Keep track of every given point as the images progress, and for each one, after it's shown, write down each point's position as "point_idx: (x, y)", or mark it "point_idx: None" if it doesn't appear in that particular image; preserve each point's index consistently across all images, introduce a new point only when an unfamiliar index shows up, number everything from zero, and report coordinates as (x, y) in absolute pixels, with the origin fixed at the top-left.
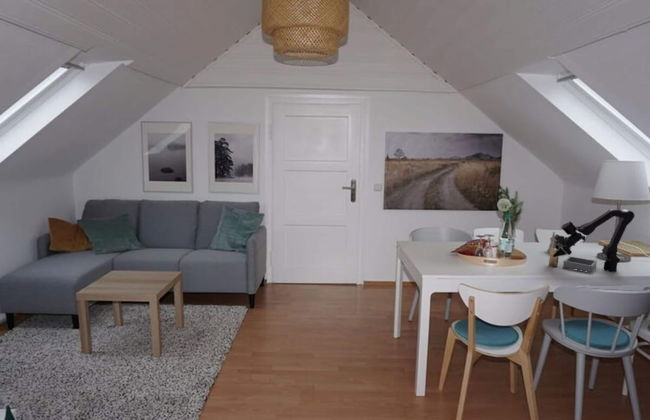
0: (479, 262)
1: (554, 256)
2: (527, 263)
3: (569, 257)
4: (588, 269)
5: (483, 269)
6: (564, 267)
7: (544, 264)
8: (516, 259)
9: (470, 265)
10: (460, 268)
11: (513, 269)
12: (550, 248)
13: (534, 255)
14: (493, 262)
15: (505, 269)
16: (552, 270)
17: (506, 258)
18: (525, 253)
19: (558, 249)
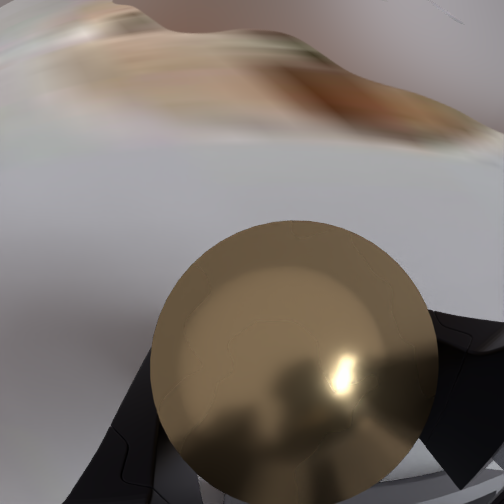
0: (105, 11)
1: None
2: (196, 143)
3: (469, 498)
4: None
5: (5, 49)
6: (224, 497)
7: None
8: (278, 87)
9: (53, 15)
10: (16, 20)
11: (5, 111)
12: (295, 221)
13: (479, 198)
14: (124, 29)
15: (4, 89)
16: (43, 366)
17: (260, 52)
18: (471, 152)
19: (309, 482)
